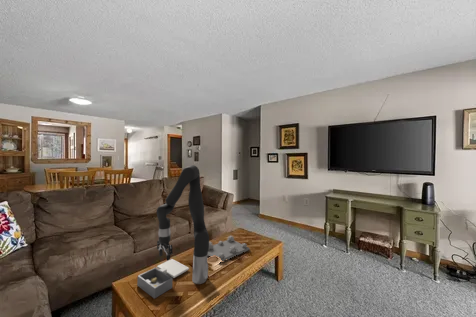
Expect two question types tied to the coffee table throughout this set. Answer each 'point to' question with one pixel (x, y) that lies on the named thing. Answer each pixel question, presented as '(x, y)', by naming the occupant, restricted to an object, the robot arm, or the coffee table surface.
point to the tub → (154, 282)
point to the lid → (172, 268)
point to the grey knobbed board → (227, 248)
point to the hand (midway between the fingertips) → (164, 257)
